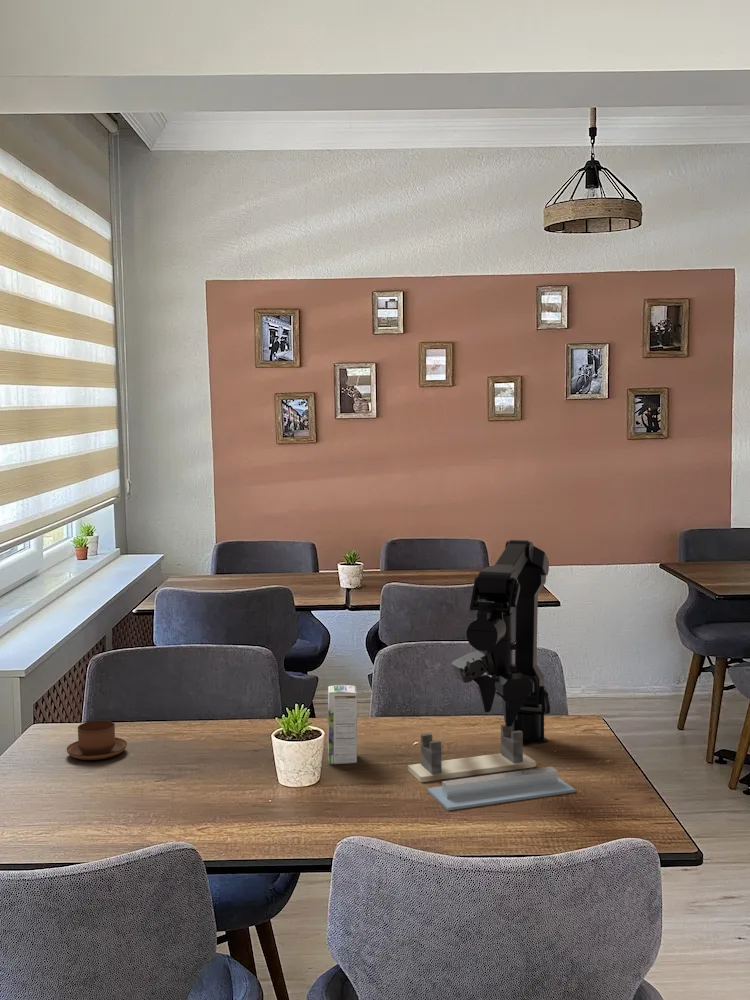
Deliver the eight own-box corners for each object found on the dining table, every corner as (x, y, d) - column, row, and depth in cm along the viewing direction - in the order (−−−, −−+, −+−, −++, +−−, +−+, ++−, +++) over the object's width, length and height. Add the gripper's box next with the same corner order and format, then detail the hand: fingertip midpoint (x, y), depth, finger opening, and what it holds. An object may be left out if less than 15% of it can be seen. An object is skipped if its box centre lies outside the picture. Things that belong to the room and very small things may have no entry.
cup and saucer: (54, 760, 207) (53, 731, 206) (91, 743, 218) (90, 714, 217) (103, 767, 202) (102, 737, 202) (138, 749, 213) (138, 720, 213)
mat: (549, 774, 194) (549, 771, 194) (575, 792, 185) (575, 789, 185) (426, 790, 187) (426, 788, 186) (447, 810, 177) (447, 807, 177)
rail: (551, 779, 190) (551, 766, 190) (557, 783, 188) (557, 770, 188) (442, 794, 183) (441, 781, 183) (447, 799, 181) (447, 785, 181)
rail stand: (519, 755, 205) (519, 721, 204) (536, 766, 198) (535, 731, 198) (407, 770, 198) (407, 734, 197) (420, 782, 191) (420, 745, 190)
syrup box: (327, 755, 207) (326, 685, 206) (356, 754, 207) (355, 684, 206) (328, 764, 201) (327, 692, 200) (358, 763, 202) (357, 691, 201)
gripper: (437, 631, 196) (439, 710, 198) (478, 654, 179) (479, 740, 180) (490, 625, 200) (491, 703, 201) (535, 647, 182) (535, 732, 184)
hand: (497, 719), depth 192 cm, fingers open, 9 cm apart
